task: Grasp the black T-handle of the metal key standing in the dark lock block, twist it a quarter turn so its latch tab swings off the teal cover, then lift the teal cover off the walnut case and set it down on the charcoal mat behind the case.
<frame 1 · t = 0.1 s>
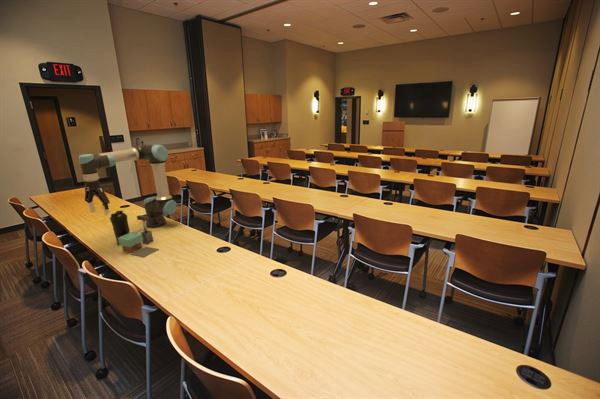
hand: (100, 213, 183), 28 cm above the table, fingers open, 13 cm apart
water bottle: (124, 243, 207), on the table
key: (139, 226, 198), point 14 cm above the table, hinge at 0.0°
case: (133, 249, 196), on the table
cover: (131, 242, 194), point 5 cm above the table, touching case
lock block: (148, 242, 206), on the table
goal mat: (144, 252, 191), on the table
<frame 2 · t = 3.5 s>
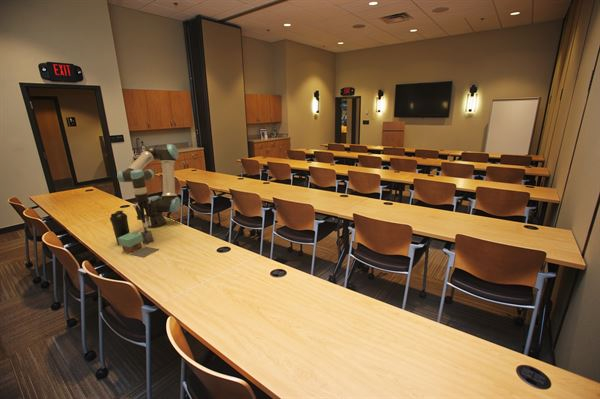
hand: (147, 226, 201), 13 cm above the table, fingers closed on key, 2 cm apart
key: (139, 226, 198), point 14 cm above the table, hinge at 0.0°, touching gripper
everything else where it was.
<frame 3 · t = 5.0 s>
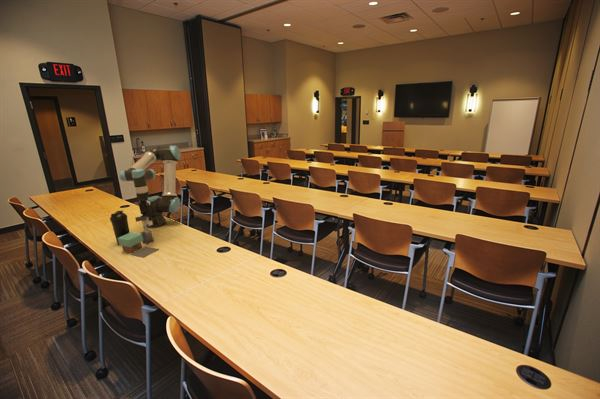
hand: (148, 224, 204), 13 cm above the table, fingers open, 3 cm apart
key: (145, 225, 199), point 14 cm above the table, hinge at 57.7°, touching gripper
everything else where it was.
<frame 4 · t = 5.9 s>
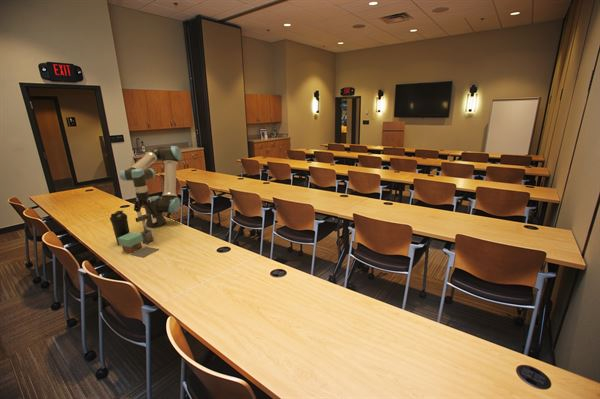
hand: (147, 221, 204), 15 cm above the table, fingers open, 12 cm apart
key: (147, 224, 200), point 14 cm above the table, hinge at 78.8°
everything else where it was.
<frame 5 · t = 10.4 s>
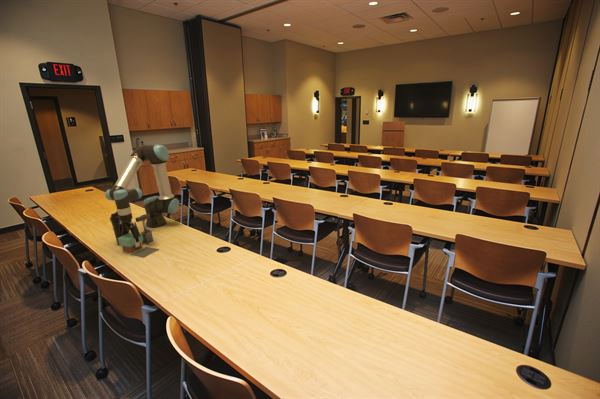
hand: (132, 245, 195), 3 cm above the table, fingers closed on cover, 10 cm apart
cover: (131, 242, 194), point 5 cm above the table, touching case, gripper
everything else where it was.
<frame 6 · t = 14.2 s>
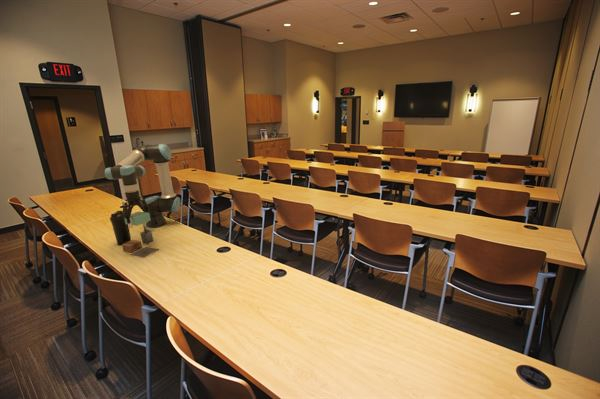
hand: (138, 224, 186), 19 cm above the table, fingers closed on cover, 10 cm apart
cover: (138, 222, 185), point 21 cm above the table, touching gripper
everything else where it was.
when the fingers open (1 cm above the table, at t = 17.8 s): cover drops 3 cm, resting on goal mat.
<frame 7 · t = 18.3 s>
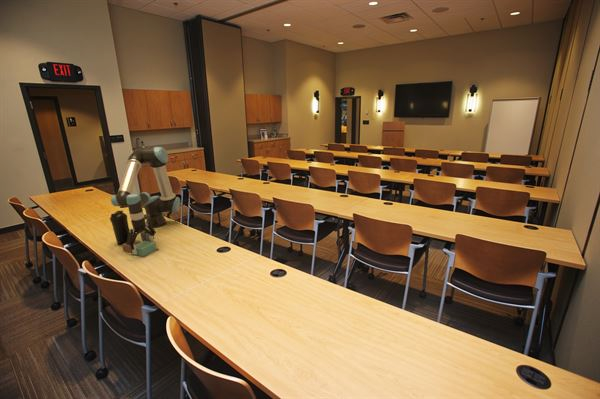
hand: (144, 249, 191), 2 cm above the table, fingers open, 13 cm apart
cover: (144, 251, 191), resting on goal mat
everything else where it was.
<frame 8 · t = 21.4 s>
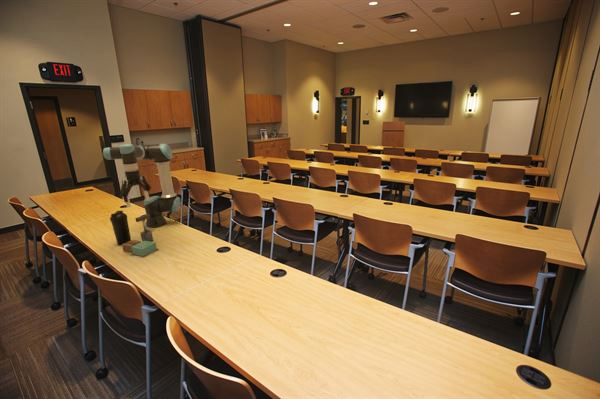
hand: (138, 203, 183), 33 cm above the table, fingers open, 13 cm apart
nothing on the table moved.
at the end: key at +79° (first picture: +0°); cover inside the target area (0.1 cm from its centre), resting on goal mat; the gripper is holding nothing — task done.
